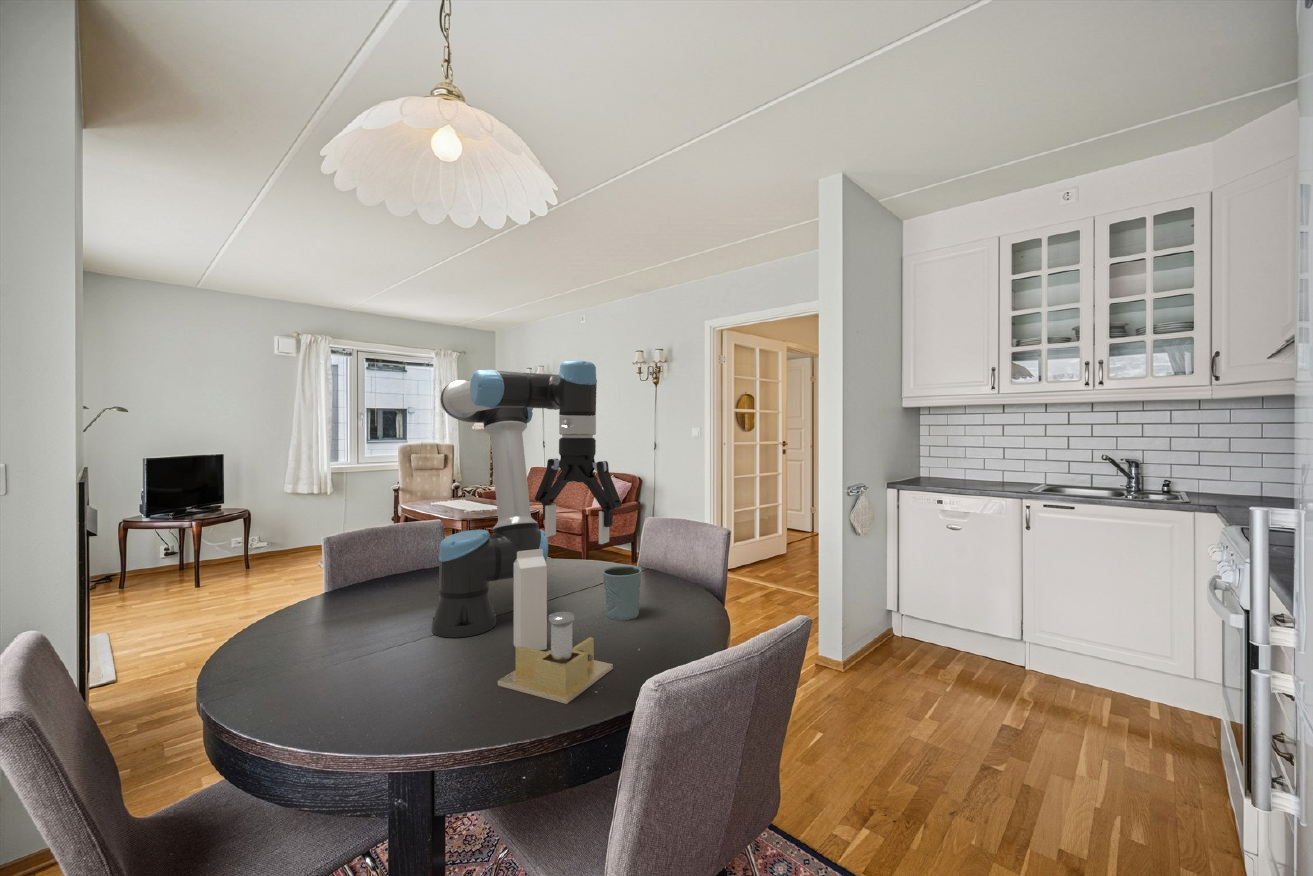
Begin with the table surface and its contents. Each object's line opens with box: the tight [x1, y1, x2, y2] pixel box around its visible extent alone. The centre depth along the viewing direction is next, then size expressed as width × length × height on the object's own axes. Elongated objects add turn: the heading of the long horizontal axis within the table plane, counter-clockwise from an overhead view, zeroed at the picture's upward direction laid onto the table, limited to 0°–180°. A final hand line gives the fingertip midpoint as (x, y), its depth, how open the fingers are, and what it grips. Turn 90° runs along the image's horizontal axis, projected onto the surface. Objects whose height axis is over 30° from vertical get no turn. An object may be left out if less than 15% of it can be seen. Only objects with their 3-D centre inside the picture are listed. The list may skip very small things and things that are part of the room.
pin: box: [548, 611, 575, 664], centre depth 102 cm, size 5×5×13 cm
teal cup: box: [602, 565, 642, 621], centre depth 143 cm, size 10×10×12 cm
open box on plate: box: [497, 637, 613, 705], centre depth 107 cm, size 16×16×6 cm
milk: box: [513, 549, 548, 651], centre depth 121 cm, size 6×6×22 cm
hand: (576, 539), depth 111 cm, fingers open, 13 cm apart
